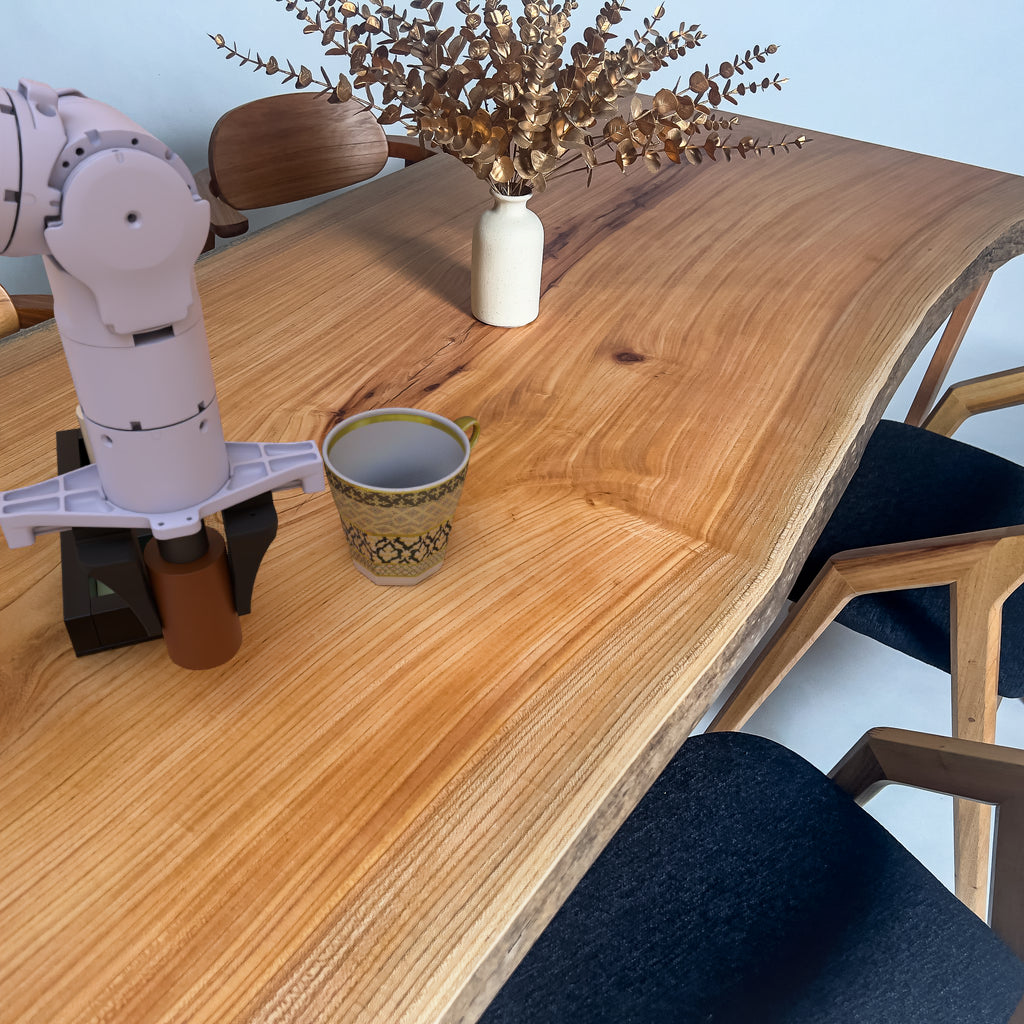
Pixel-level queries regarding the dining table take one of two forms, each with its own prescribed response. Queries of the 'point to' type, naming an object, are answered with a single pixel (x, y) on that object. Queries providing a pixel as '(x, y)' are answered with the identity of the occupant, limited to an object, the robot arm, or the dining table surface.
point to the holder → (92, 579)
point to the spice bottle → (194, 598)
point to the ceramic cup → (398, 488)
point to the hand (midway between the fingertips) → (197, 612)
